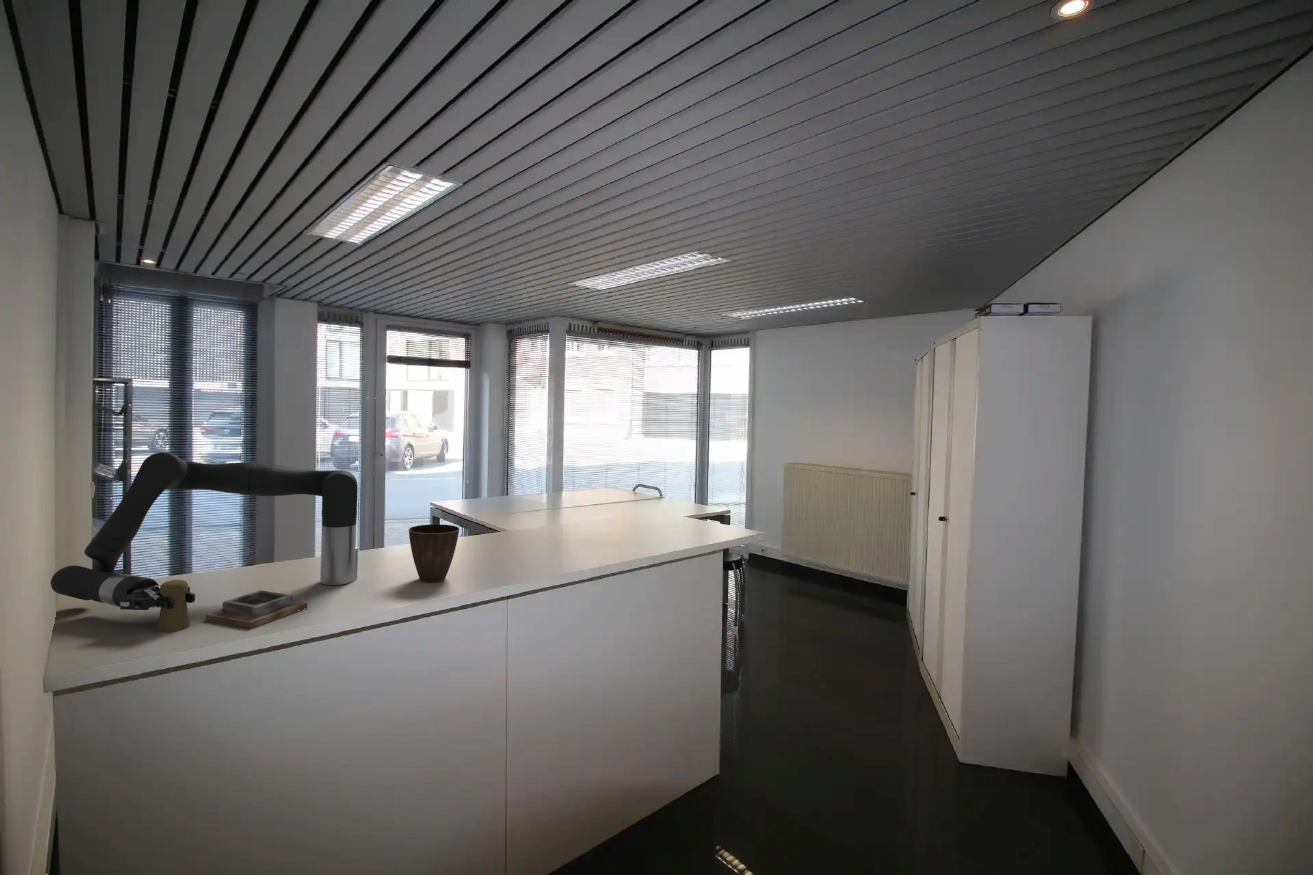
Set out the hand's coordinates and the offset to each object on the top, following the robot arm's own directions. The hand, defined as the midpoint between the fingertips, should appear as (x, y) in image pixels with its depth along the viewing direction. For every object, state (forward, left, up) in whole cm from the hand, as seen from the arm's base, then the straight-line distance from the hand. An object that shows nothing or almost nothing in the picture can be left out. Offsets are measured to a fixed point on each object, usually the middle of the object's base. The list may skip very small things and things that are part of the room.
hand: (182, 601), depth 139 cm
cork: (0, -3, -7) cm, 7 cm away
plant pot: (-58, +25, -7) cm, 64 cm away
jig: (-14, +6, -7) cm, 17 cm away
